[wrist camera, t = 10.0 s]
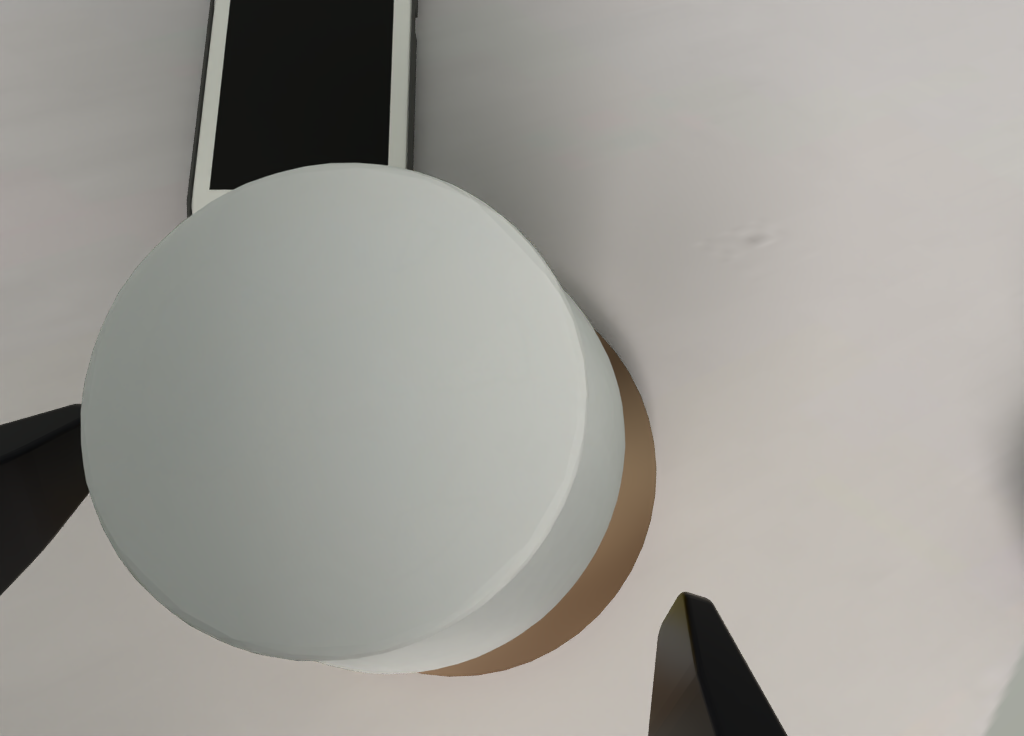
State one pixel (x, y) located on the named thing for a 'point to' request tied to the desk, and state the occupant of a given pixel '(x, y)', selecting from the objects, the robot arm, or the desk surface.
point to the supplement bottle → (352, 423)
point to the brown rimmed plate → (609, 558)
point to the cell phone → (302, 89)
